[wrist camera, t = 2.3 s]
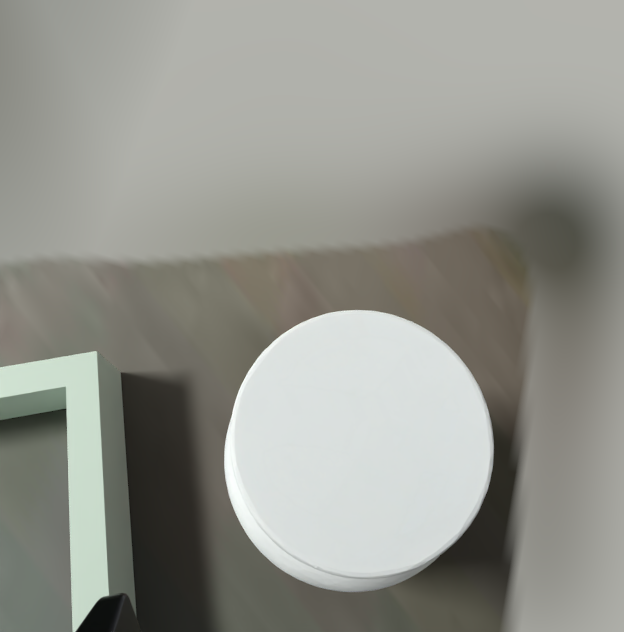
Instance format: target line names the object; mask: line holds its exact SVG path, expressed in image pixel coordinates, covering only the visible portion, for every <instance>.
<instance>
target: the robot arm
mask: <svg viewBox="0 0 624 632" xmlns="http://www.w3.org/2000/svg"><path fill="white" fill-rule="evenodd" d="M75 632H140V626H139V623H138V620H137V617H136V615H135V612H134V609H133V607H132V604H131V601H130V598H129V596H128V595H127V594H126V593H118V594H113V595H108V596H104V597H101V598H100V599H99V600H98V601H97V602H96V603H95V605H94V606H93V608H92V609H91V610H90V612H89V613H88V615H87V616H86V617H85V619H84V620H83V622H82V623H81V624H80V626H79V627H78V629H77V630H76V631H75Z"/></svg>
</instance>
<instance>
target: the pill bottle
mask: <svg viewBox="0 0 624 632" xmlns="http://www.w3.org/2000/svg"><path fill="white" fill-rule="evenodd" d="M493 458H494V438H493V430H492V423H491V419H490V415H489V412H488V408H487V404H486V402H485V399H484V397H483V394H482V392H481V390H480V387H479V385H478V384H477V382H476V380H475V379H474V377H473V375H472V373H471V372H470V370H469V369H468V368H467V366H466V365H465V364H464V362H463V361H462V360H461V359H460V358H459V356H458V355H457V354H456V353H455V352H454V351H453V350H452V349H451V348H450V347H449V346H448V345H447V344H446V343H444V342H443V341H442V340H440V339H439V338H438V337H436V336H435V335H434V334H433V333H431V332H430V331H428V330H426V329H425V328H423V327H421V326H420V325H417V324H415V323H413V322H411V321H408V320H406V319H404V318H401V317H398V316H394V315H391V314H387V313H382V312H377V311H367V310H350V311H338V312H332V313H327V314H324V315H321V316H318V317H315V318H312V319H309V320H307V321H305V322H302V323H301V324H299V325H297V326H295V327H293V328H291V329H290V330H288V331H287V332H285V333H284V334H282V335H281V336H280V337H279V338H277V339H276V340H275V341H274V342H273V343H272V344H271V345H270V346H269V347H268V348H266V349H265V350H264V351H263V353H262V354H261V355H260V356H259V357H258V359H257V360H256V362H255V363H254V365H253V366H252V367H251V369H250V370H249V372H248V374H247V375H246V377H245V379H244V381H243V383H242V385H241V387H240V390H239V392H238V395H237V398H236V401H235V405H234V409H233V413H232V417H231V421H230V424H229V427H228V432H227V436H226V442H225V456H224V467H225V477H226V483H227V488H228V493H229V497H230V500H231V503H232V505H233V508H234V510H235V513H236V515H237V517H238V519H239V521H240V523H241V525H242V527H243V529H244V530H245V532H246V534H247V535H248V537H249V538H250V540H251V541H252V542H253V543H254V545H255V546H256V547H257V548H258V549H259V551H260V552H261V553H262V554H263V555H264V556H266V557H267V558H268V559H269V560H270V561H271V562H272V563H273V564H275V565H276V566H277V567H278V568H280V569H281V570H283V571H284V572H286V573H288V574H290V575H291V576H293V577H295V578H297V579H298V580H301V581H303V582H305V583H308V584H310V585H313V586H317V587H320V588H324V589H328V590H334V591H341V592H363V591H372V590H378V589H382V588H386V587H389V586H393V585H395V584H397V583H400V582H402V581H405V580H407V579H409V578H410V577H412V576H414V575H416V574H417V573H419V572H420V571H422V570H423V569H425V568H426V567H427V566H429V565H430V564H431V563H432V562H434V561H435V560H436V559H437V558H438V557H439V556H440V555H441V554H443V553H444V552H445V551H446V550H447V549H449V548H450V547H451V546H452V545H453V544H454V543H455V542H456V541H457V540H458V539H459V538H460V537H461V536H462V535H463V534H464V532H465V531H466V530H467V529H468V527H469V526H470V525H471V523H472V522H473V520H474V519H475V517H476V515H477V514H478V512H479V510H480V507H481V505H482V503H483V500H484V498H485V496H486V493H487V491H488V487H489V483H490V479H491V474H492V469H493Z"/></svg>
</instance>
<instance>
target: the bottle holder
mask: <svg viewBox="0 0 624 632" xmlns="http://www.w3.org/2000/svg"><path fill="white" fill-rule="evenodd" d="M66 408H67V443H68V479H69V515H70V552H71V588H72V625H73V632H75V631H76V630H77V629H78V627H79V626H80V624H81V623H82V622H83V620H84V619H85V617H86V616H87V615H88V613H89V612H90V610H91V609H92V608H93V606H94V605H95V603H96V602H97V601H98V600H99V599H100V598H101V597H104V596H108V595H113V594H118V593H126V594H127V595H128V596H129V598H130V601H131V604H132V607H133V609H134V612H135V615H136V601H135V586H134V570H133V555H132V540H131V524H130V509H129V494H128V478H127V463H126V448H125V432H124V417H123V402H122V386H121V372H120V371H119V370H118V369H117V368H115V367H114V366H113V365H112V364H111V363H110V362H109V361H107V360H106V359H105V358H104V357H103V356H102V355H101V354H99V353H98V352H97V351H94V352H88V353H83V354H77V355H71V356H65V357H59V358H53V359H47V360H41V361H36V362H30V363H24V364H18V365H12V366H6V367H0V420H4V419H10V418H15V417H21V416H27V415H32V414H38V413H43V412H49V411H55V410H60V409H66ZM136 617H137V616H136Z"/></svg>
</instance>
